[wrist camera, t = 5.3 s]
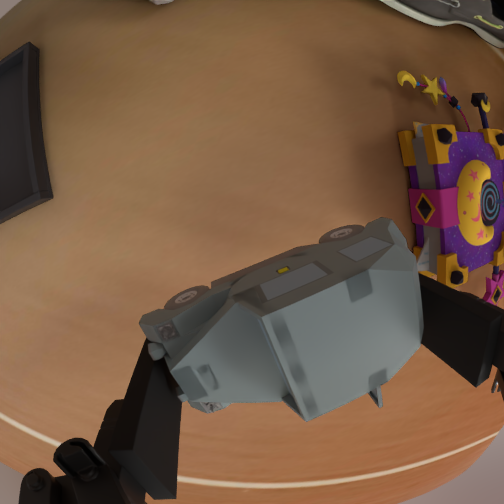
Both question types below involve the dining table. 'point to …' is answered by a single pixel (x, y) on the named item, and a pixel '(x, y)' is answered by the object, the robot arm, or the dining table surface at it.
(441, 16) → the boat shoe
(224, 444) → the dining table surface
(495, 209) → the purple toy
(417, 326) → the toy car
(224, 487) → the dining table surface
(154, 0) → the mug
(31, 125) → the tray
